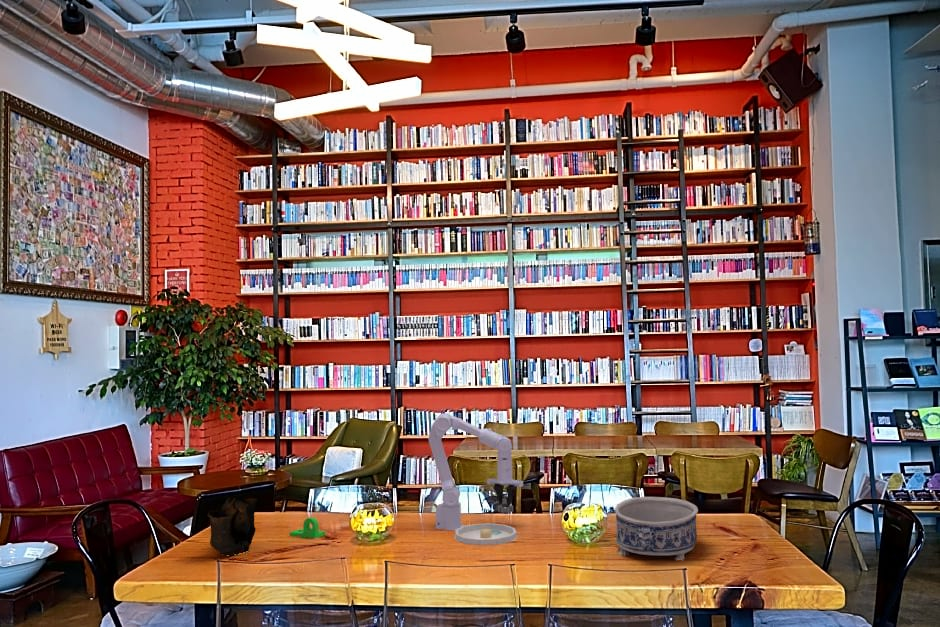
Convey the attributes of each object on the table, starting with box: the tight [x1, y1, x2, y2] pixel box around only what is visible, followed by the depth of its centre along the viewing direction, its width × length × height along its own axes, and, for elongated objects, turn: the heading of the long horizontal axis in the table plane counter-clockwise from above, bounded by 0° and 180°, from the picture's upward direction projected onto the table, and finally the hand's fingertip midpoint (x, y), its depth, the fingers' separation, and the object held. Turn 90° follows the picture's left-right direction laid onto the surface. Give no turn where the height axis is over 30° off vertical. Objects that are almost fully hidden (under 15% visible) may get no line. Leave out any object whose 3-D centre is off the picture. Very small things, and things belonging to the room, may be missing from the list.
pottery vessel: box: [207, 496, 259, 556], centre depth 252 cm, size 25×11×20 cm, turn 170°
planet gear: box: [497, 495, 514, 514], centre depth 281 cm, size 6×6×6 cm
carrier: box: [454, 522, 518, 546], centre depth 265 cm, size 23×23×3 cm
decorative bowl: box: [614, 496, 699, 561], centre depth 245 cm, size 42×27×15 cm, turn 157°
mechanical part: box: [289, 516, 326, 539], centre depth 273 cm, size 12×6×8 cm, turn 64°
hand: (505, 504), depth 281 cm, fingers closed on planet gear, 3 cm apart
